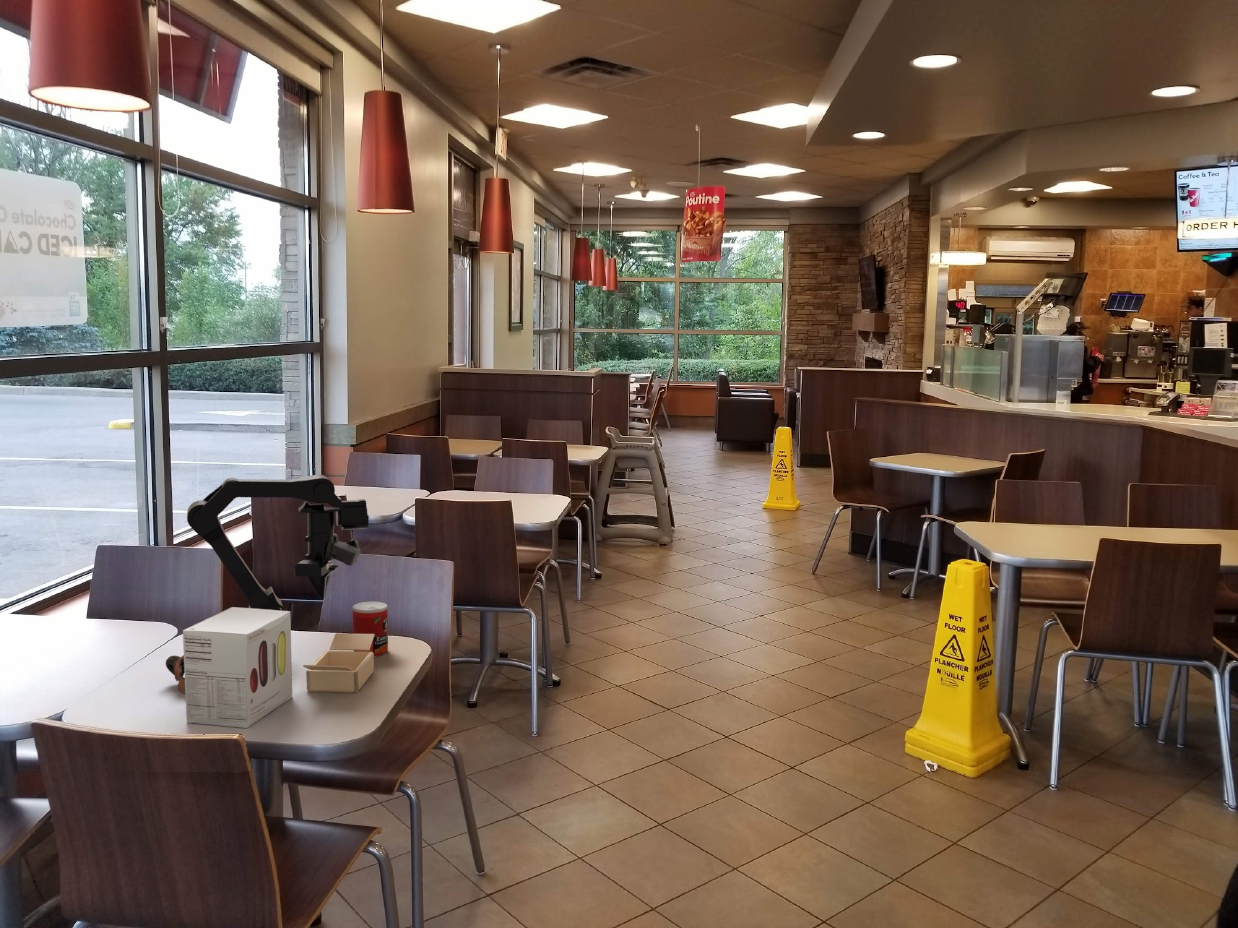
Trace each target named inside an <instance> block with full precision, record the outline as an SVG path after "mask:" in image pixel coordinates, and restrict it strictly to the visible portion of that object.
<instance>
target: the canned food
mask: <svg viewBox="0 0 1238 928" xmlns="http://www.w3.org/2000/svg"><path fill="white" fill-rule="evenodd" d="M388 610H389V609H388V604H387V603H385V602H381V601H363V602H358V603H356V604H354V605H352V634H374V638H373V641H372V644H371V647H370V650H369V651H361V650H353V651H356V652H373V653H374V657H379V655H380V656H383V655H385V654H386V653H388V649H389V624H388V623H389V621H388V620H389V616H388V615H389V614H388V613H389V612H388Z"/></svg>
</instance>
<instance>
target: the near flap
mask: <svg viewBox="0 0 1238 928" xmlns="http://www.w3.org/2000/svg"><path fill="white" fill-rule="evenodd" d="M302 667H303V668H304V669H306V670H307V669H310V670H343V671H353V669H351V668H350V667H348V666H330V665H312V664H303V665H302Z"/></svg>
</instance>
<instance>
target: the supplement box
mask: <svg viewBox="0 0 1238 928" xmlns="http://www.w3.org/2000/svg"><path fill="white" fill-rule="evenodd" d="M291 625H292V624H291V611H290V610H289V611H288V610H282V611H279V610H266V609H253V608H250V607H235V606H231V607H229V608H227V609H225V610H223V611H221V612H219V613H217V614H214V615H211V616H210V617H208V618H206V619H204V620H202V621H200V622H197V623H195V624H193V625H192V626H189V627H186V628H185V629H183V630H182V641H183V642H182V643H183V655H184V671H185V673H184V678H185V693H184V695H185V714H186V715H185V716H186V723H189V724H191V723H192V724H201V725H202V724H203V725H209V726H211V725H212V726H213V725H214V726H223V727H232V728H242V729H249V727H251V726H252V725H253V724H255V723H257V722H258V721H259V720H261V719H262V718H264V717H265V716H266V715H268V714H270V713H271V712H272V711H274V710H275V709H277V708H278V707H280V706H281V705H283V704H284V703H286V702H287V701H289V700H290V699H292V698H293V675H292V674H293V673H292V672H293V670H292V669H293V667H292V664H293V663H292V631H291V629H292V628H291Z"/></svg>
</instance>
